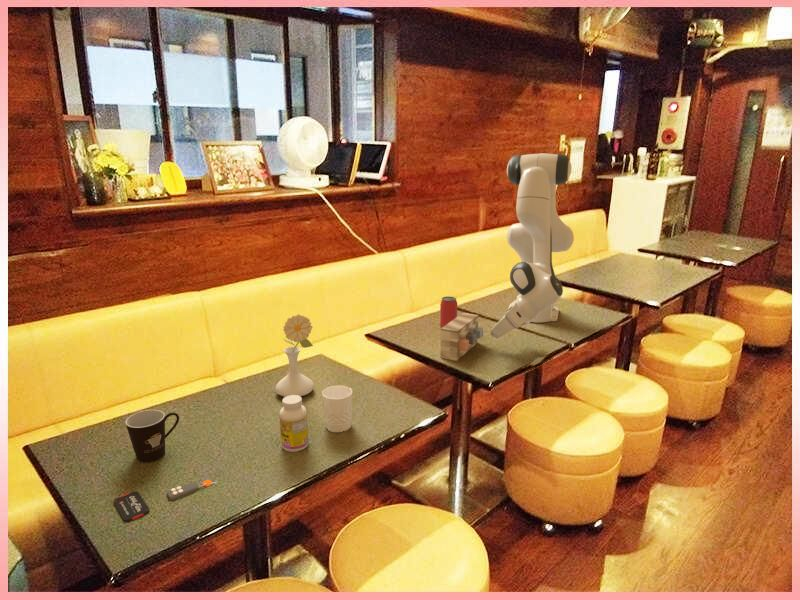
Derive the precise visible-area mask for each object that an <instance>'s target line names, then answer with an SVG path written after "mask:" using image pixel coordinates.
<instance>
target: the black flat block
mask: <svg viewBox="0 0 800 600" xmlns="http://www.w3.org/2000/svg"><path fill="white" fill-rule="evenodd" d="M113 505H114V506H115V508H116V510H117V512H118V513H119V515H120V516H121V519H122V520H123V522H126V523H127V522H131V521H135V520H138V519H140V518H142V517H144V516H145V515H148V513H150V508H149V506H148V505H147V504H146V502H145V500H144V498H143V497H142V495H141V494H140V493H139V491H132V492H128V493H125V494H122V495H120V496H119V497H117V498H115V499H113Z"/></svg>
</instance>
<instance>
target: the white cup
mask: <svg viewBox="0 0 800 600" xmlns="http://www.w3.org/2000/svg"><path fill="white" fill-rule="evenodd" d="M321 397H322V408H323V415H324V419H325V420H324V422H325V428H326V430H327V429H328V430H327V431H329V432H331V433H343V431H344V432H346V431H348V430H349V429H350V428H351V427H352V417H353V389H352V388H351V387H350V386H346V385H341V384H340V385H331V386H328V387H326V388H324V389H322V392H321Z"/></svg>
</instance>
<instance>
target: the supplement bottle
mask: <svg viewBox="0 0 800 600" xmlns="http://www.w3.org/2000/svg"><path fill="white" fill-rule="evenodd" d="M281 402H282V406H283V407H281V409H280V410H279V413H278V415H279V427H280V428H279V429H280V443H281V448H282V449H283V450H284V451H285V452H290V453H292V452H293V453H296V452H300V451H302V450H304V449H306V448H307V447H308V445H309V430H308V411H307V408H306V407H305V406H304V405H303V398H302V396H298V395H289V396H286V397H283V398H282V401H281Z"/></svg>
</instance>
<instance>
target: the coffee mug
mask: <svg viewBox="0 0 800 600" xmlns="http://www.w3.org/2000/svg"><path fill="white" fill-rule="evenodd" d="M171 416H175V417H176V421H175V422H174V424H173V425H172V427H171V428H170V429H169V430H168V432H167V433H166V420H168V418H169V417H171ZM179 421H180V416H179V414H178V413H176V412H169V413H167V414H166V413H165V412H164V411H162V410H160V409H145V410H141V411H137V412H135V413H133V414H131V415H130V416H128V417H127V418H125V422H124V423H125V427H126V430H127V432H128V436H129V438H130V443H131V445H132V449H133V451H134V453H135V454H134V455H135V457H136V460H137V462H139V463H141V464H142V463H143V464H145V463H153V462H156V461H158V460H160V459H162V458H163V457H164V456H165V455H166V438H168V437H169V436H170V435H171V433H173V431H174V430H175V429H176V427H177V425H178V423H179Z"/></svg>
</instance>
